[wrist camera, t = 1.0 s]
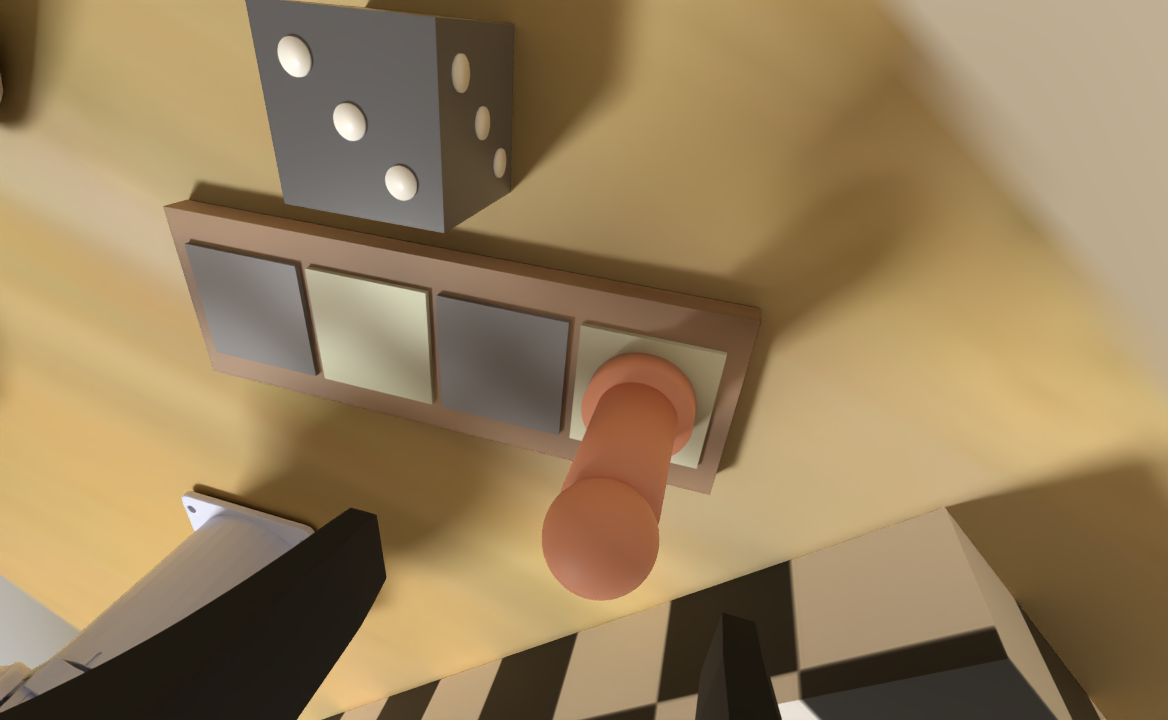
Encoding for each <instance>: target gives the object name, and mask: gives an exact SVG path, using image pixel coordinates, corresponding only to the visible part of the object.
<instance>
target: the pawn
mask: <svg viewBox="0 0 1168 720" xmlns="http://www.w3.org/2000/svg"><path fill="white" fill-rule="evenodd" d="M581 413H582V419H583V423H584V425H585V427H586V429H587V430H586V432H585V434H584V437H583V439H582V442H581V444H580V446H579V449H578V451H577V453H576V456H575V458H574V461H573V463H572V465H571V468H570V470H569V472H568V475H567V477H566V480H565V482H564V484H563V487H562V489H561V493H560V494H559V495H558V496H557V498H556V499H555V500H554V501H553V503H552V505H551V506H550V508H549V510H548V512H547V514H546V517H545V520H544V524H543V530H542V547H543V552H544V556H545V559H546V562H547V565H548V567H549V569H550V570H551V572H552V574H553V575H554V577H555V578H556V579H557V580H558V581H559V582H560V583H561V584H562V585H563V586H564V587H565V588H566V589H568V590H569V591H570V592H572V593H574V594H576V595H578V596H580V597H583V598H586V599H591V600H599V601H600V600H611V599H616V598H619V597H621V596H624V595H626V594H628V593H630V592H631V591H633V590H634V589H636V588H637V587H638V586H639V585H640V584H641V583H642V582H643V581H644V580H645V579H646V578H647V576H648V575H649V573H650V571H651V570H652V568H653V566H654V564H655V561H656V558H657V554H658V548H659V529H658V523H659V520H660V515H661V510H662V504H663V499H664V493H665V488H666V483H667V477H668V472H669V467H670V461H671V456H673V455H675V454H676V453H678V452H679V451H680V450H681V449H682V448H683V447H684V446H685V445H686V444H687V442H688V441H689V439H690V437H691V435H692V432H693V427H694V420H695V413H696V395H695V391H694V388H693V386H692V384H691V382H690V381H689V379H688V378H687V376H686V375H685V374H684V373H683V372H682V371H681V370H680V369H679V368H678V367H677V366H675V365H674V364H673V363H671V362H669V361H667V360H666V359H664V358H661V357H659V356H656V355H652V354H647V353H626V354H621V355H618V356H615V357H613V358H611V359H609V360H607V361H606V362H604V363H603V364H602V365H601V366H600V367H599V368H598V369H597V370H596V372H595V373H594V375H593V377H592V379H591V381H590V383H589V385H588V387H587V389H586V392H585V394H584V396H583V399H582V404H581Z"/></svg>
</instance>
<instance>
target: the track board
mask: <svg viewBox="0 0 1168 720" xmlns="http://www.w3.org/2000/svg"><path fill="white" fill-rule="evenodd" d="M163 208H164V211H165V214H166V217H167V221H168V224H169V227H170V230H171V234H172V237H173V240H174V243H175V247H176V250H177V253H178V256H179V260H180V263H181V266H182V269H183V273H184V276H185V279H186V282H187V286H188V289H189V292H190V295H191V299H192V302H193V305H194V308H195V312H196V315H197V318H198V321H199V325H200V328H201V331H202V334H203V338H204V341H205V344H206V347H207V351H208V354H209V357H210V360H211V364H212V367H213V370H214V371H217V372H221V373H225V374H229V375H233V376H237V377H241V378H245V379H249V380H253V381H257V382H261V383H265V384H269V385H273V386H277V387H281V388H285V389H289V390H293V391H297V392H301V393H305V394H309V395H313V396H317V397H321V398H325V399H329V400H333V401H337V402H341V403H345V404H349V405H353V406H357V407H361V408H365V409H369V410H373V411H377V412H381V413H385V414H389V415H392V416H396V417H400V418H404V419H408V420H412V421H416V422H420V423H424V424H428V425H432V426H436V427H440V428H444V429H448V430H452V431H456V432H460V433H464V434H468V435H472V436H476V437H480V438H484V439H488V440H492V441H496V442H500V443H504V444H508V445H512V446H516V447H520V448H524V449H528V450H532V451H536V452H540V453H544V454H548V455H552V456H556V457H560V458H564V459H568V460H572V461H574V458H575V456H576V453H577V451H578V449H579V446H580V444H581V442H582V439H583V437H584V434H585V432H586V430H587V429H586V427H585V425H584V423H583V419H582V413H581V404H582V399H583V396H584V394H585V392H586V389H587V387H588V385H589V383H590V381H591V379H592V377H593V375H594V373H595V372H596V370H597V369H598V368H599V367H600V366H601V365H602V364H603V363H604V362H606V361H607V360H609V359H611V358H613V357H615V356H618V355H621V354H626V353H647V354H652V355H656V356H659V357H661V358H664V359H666V360H667V361H669V362H671V363H673V364H674V365H675V366H677V367H678V368H679V369H680V370H681V371H682V372H683V373H684V374H685V375H686V376H687V378H688V379H689V381H690V382H691V384H692V386H693V388H694V391H695V395H696V413H695V420H694V427H693V432H692V435H691V437H690V439H689V441H688V442H687V444H686V445H685V446H684V447H683V448H682V449H681V450H680V451H679V452H678V453H676V454H675V455H673V456H671V461H670V467H669V472H668V477H667V483H666V484H668V485H672V486H676V487H680V488H684V489H688V490H692V491H696V492H700V493H704V494H708V495H710V493H711V489H712V486H713V483H714V479H715V476H716V472H717V469H718V466H719V462H720V459H721V455H722V452H723V449H724V445H725V442H726V438H727V435H728V432H729V428H730V425H731V421H732V418H733V415H734V411H735V408H736V404H737V401H738V398H739V394H740V391H741V387H742V384H743V381H744V377H745V374H746V370H747V367H748V364H749V360H750V357H751V353H752V350H753V347H754V343H755V340H756V337H757V333H758V330H759V326H760V323H761V317H760V308H756V307H750V306H745V305H740V304H735V303H729V302H724V301H719V300H713V299H708V298H703V297H698V296H692V295H687V294H682V293H677V292H671V291H666V290H661V289H655V288H650V287H645V286H640V285H634V284H629V283H624V282H619V281H613V280H608V279H603V278H597V277H592V276H587V275H582V274H576V273H571V272H566V271H561V270H555V269H550V268H545V267H539V266H534V265H529V264H524V263H518V262H513V261H508V260H503V259H497V258H492V257H487V256H481V255H476V254H471V253H466V252H460V251H455V250H450V249H445V248H439V247H434V246H429V245H423V244H418V243H413V242H408V241H402V240H397V239H392V238H387V237H381V236H376V235H371V234H365V233H360V232H355V231H350V230H344V229H339V228H334V227H329V226H323V225H318V224H313V223H307V222H302V221H297V220H292V219H286V218H281V217H276V216H271V215H265V214H260V213H255V212H249V211H244V210H239V209H234V208H228V207H223V206H218V205H213V204H207V203H202V202H197V201H191V200H184V201H181V202H177V203H173V204H170V205H166V206H163Z"/></svg>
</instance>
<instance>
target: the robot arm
mask: <svg viewBox="0 0 1168 720" xmlns="http://www.w3.org/2000/svg"><path fill="white" fill-rule="evenodd" d="M182 502H183V504H184V506H185V509H186V511H187V514H188V516H189V519H190V521H191V524H192V526H193V529H194V531H195V532H194V533H193V534H192V535H191V536H189V537H188V538H187V539H186V540H185V541H184V542H183V543H182V544H180V545H179V546H178V547H177V548H176V549H175V550H174V551H172V552H171V553H170V554H169V555H168V556H167V557H166V558H164V559H163V560H162V561H161V562H160V563H159V564H158V565H156V566H155V567H154V568H153V569H152V570H151V571H150V572H149V573H147V574H146V575H145V576H144V577H143V578H142V579H141V580H139V581H138V582H137V583H136V584H135V585H134V586H133V587H131V588H130V589H129V590H128V591H127V592H126V593H125V594H123V595H122V596H121V597H120V598H119V599H118V600H117V601H116V602H114V603H113V604H112V605H111V606H110V607H109V608H108V609H106V610H105V611H104V612H103V613H102V614H101V615H100V616H98V617H97V618H96V619H95V620H94V621H93V622H92V623H91V624H89V625H88V626H87V627H86V628H85V629H84V630H83V631H81V632H80V633H79V634H78V635H77V636H76V637H75V638H74V639H72V640H71V641H70V642H69V643H68V644H67V645H65V646H64V647H63V648H62V649H61V650H60V651H59V652H58V653H56V654H55V655H54V656H53V657H52V658H51V659H50V660H48V661H46V662H45V663H43V664H41V665H39V666H38V667H36V668H34V669H32V670H31V669H30V668H28V667H27V666H26V665H24V664H23V663H21V662H16V663H14V664H12V665H10V666H1V667H0V720H297V719H298V717H299V716H300V714H301V713H302V711H303V710H304V708H305V707H306V705H307V704H308V703H309V701H310V700H311V698H312V697H313V695H314V694H315V692H316V691H317V690H318V688H319V687H320V685H321V684H322V682H323V681H324V679H325V678H326V676H327V675H328V674H329V672H330V671H331V669H332V668H333V666H334V665H335V663H336V662H337V661H338V659H339V658H340V656H341V655H342V653H343V652H344V650H345V649H346V647H347V646H348V644H349V643H350V641H351V640H352V638H353V637H354V635H355V634H356V632H357V631H358V629H359V628H360V626H361V625H362V623H363V621H364V619H365V618H366V616H367V614H368V612H369V610H370V609H371V607H372V605H373V603H374V601H375V599H376V597H377V595H378V593H379V592H380V590H381V588H382V586H383V584H384V582H385V580H386V572H385V565H384V559H383V553H382V546H381V540H380V534H379V527H378V521H377V515H375V514H372V513H368V512H365V511H361V510H357V509H354V508H350V509H348V510H346V511H345V512H343V513H342V514H341V515H339V516H338V517H336V518H335V519H333V520H332V521H330V522H329V523H327V524H326V525H325V526H323V527H322V528H320V529H319V530H317V531H316V532H314V530H313V529H312V528H311V527H309V526H307V525H304V524H301V523H297V522H294V521H290V520H287V519H284V518H280V517H277V516H274V515H270V514H267V513H264V512H260V511H257V510H253V509H250V508H247V507H243V506H240V505H237V504H233V503H230V502H226V501H223V500H220V499H216V498H213V497H210V496H206V495H203V494H200V493H196V492H193V491H188V492H187V493H185V494H184V495H183V496H182ZM695 720H782V717H781V714H780V710H779V707H778V703H777V700H776V696H775V692H774V689H773V685H772V681H771V677H770V673H769V669H768V665H767V661H766V656H765V652H764V647H763V643H762V638H761V632H760V627H759V626H758V625H757V623H756V622H754V621H751V620H747V619H744V618H740V617H737V616H733V615H730V614H726V613H722V614H721V617H720V620H719V622H718V625H717V628H716V631H715V634H714V637H713V639H712V642H711V645H710V648H709V651H708V653H707V656H706V659H705V662H704V665H703V668H702V670H701V673H700V681H699V689H698V698H697V706H696V715H695Z"/></svg>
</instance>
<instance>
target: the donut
mask: <svg viewBox="0 0 1168 720" xmlns="http://www.w3.org/2000/svg"><path fill="white" fill-rule="evenodd" d="M2 95H3V87H2V80H1V73H0V102H1V98H2Z"/></svg>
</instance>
